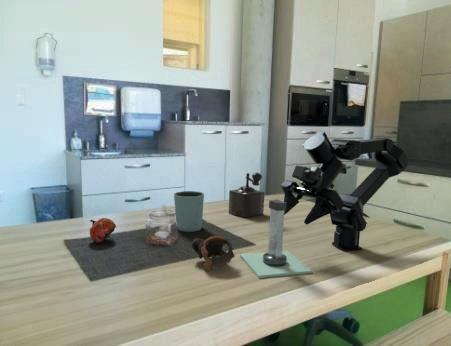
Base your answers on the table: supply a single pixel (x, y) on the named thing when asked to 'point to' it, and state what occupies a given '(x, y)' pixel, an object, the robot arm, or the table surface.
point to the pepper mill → (247, 199)
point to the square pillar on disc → (276, 235)
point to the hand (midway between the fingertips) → (292, 219)
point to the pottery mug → (213, 251)
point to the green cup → (189, 210)
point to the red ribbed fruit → (101, 229)
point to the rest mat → (264, 270)
